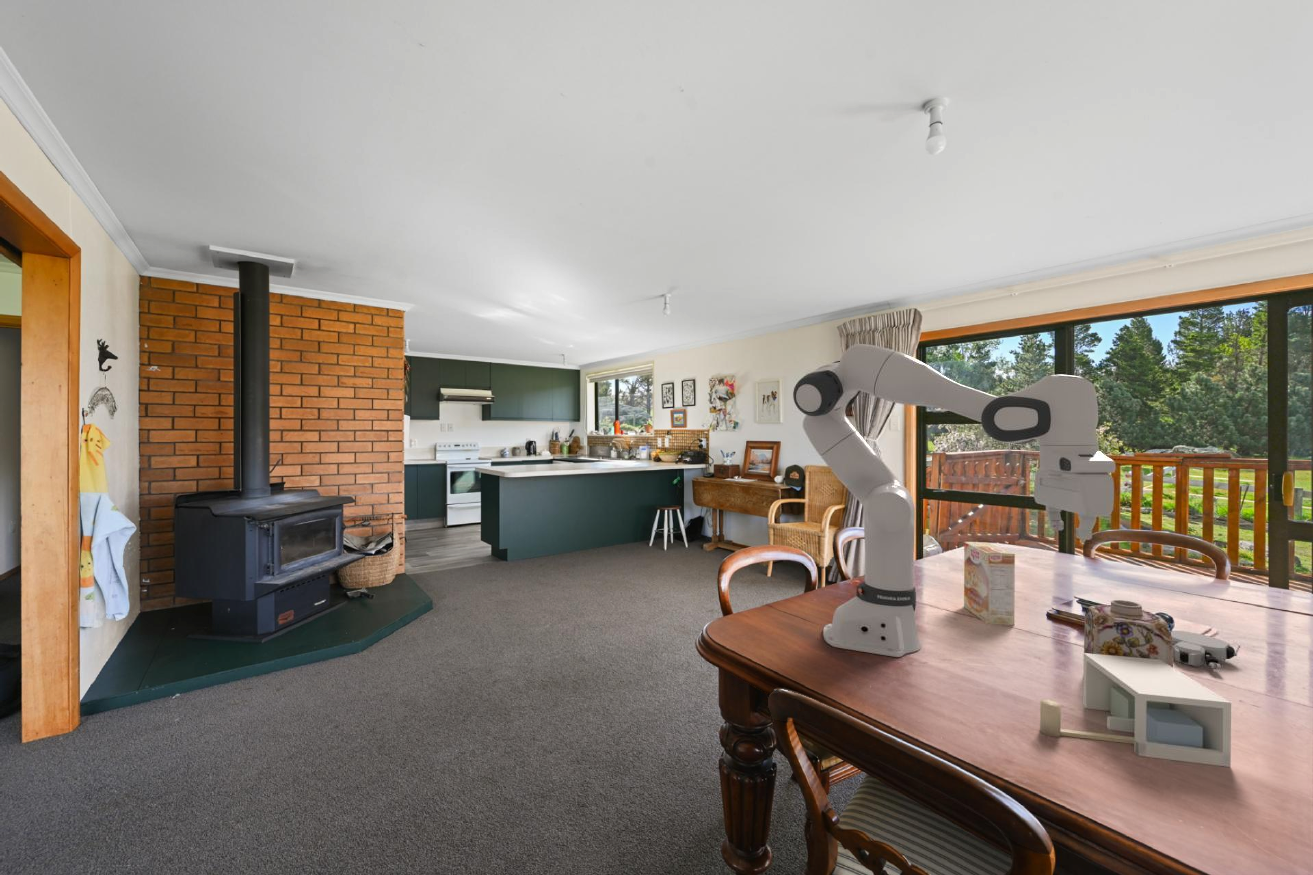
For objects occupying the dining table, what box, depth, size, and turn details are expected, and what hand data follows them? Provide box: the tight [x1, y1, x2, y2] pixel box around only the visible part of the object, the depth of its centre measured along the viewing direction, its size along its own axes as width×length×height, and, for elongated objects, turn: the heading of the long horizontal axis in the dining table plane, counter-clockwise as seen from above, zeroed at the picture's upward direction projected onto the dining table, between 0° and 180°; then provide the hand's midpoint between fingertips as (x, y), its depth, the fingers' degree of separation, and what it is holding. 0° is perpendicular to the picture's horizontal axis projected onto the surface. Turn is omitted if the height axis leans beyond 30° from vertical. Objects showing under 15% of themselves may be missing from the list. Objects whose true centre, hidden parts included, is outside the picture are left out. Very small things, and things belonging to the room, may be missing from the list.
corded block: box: [1039, 699, 1203, 748], centre depth 89 cm, size 21×5×5 cm, turn 76°
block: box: [1110, 687, 1169, 719], centre depth 94 cm, size 6×5×5 cm
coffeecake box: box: [963, 541, 1016, 627], centre depth 149 cm, size 15×7×20 cm, turn 172°
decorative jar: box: [1083, 599, 1174, 668], centre depth 105 cm, size 12×12×18 cm
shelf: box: [1082, 652, 1232, 768], centre depth 91 cm, size 12×16×10 cm
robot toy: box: [1168, 628, 1241, 669], centre depth 121 cm, size 12×4×15 cm
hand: (1069, 534), depth 99 cm, fingers open, 8 cm apart
